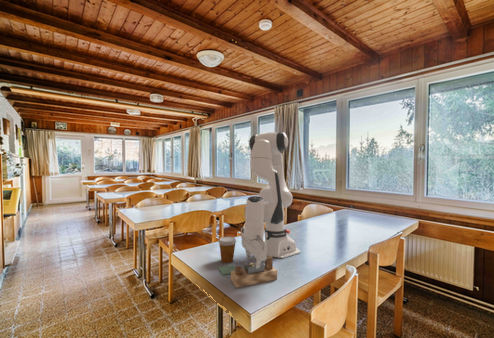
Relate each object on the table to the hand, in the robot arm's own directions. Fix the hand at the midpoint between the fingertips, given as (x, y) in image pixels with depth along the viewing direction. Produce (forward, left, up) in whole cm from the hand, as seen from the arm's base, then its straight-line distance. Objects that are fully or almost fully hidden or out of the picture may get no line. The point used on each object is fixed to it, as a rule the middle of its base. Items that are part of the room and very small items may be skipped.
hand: (252, 263), depth 104 cm
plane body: (-1, 0, -8) cm, 8 cm away
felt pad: (+7, -13, -8) cm, 17 cm away
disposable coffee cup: (+4, -24, -8) cm, 26 cm away
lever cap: (-1, 0, -4) cm, 4 cm away
